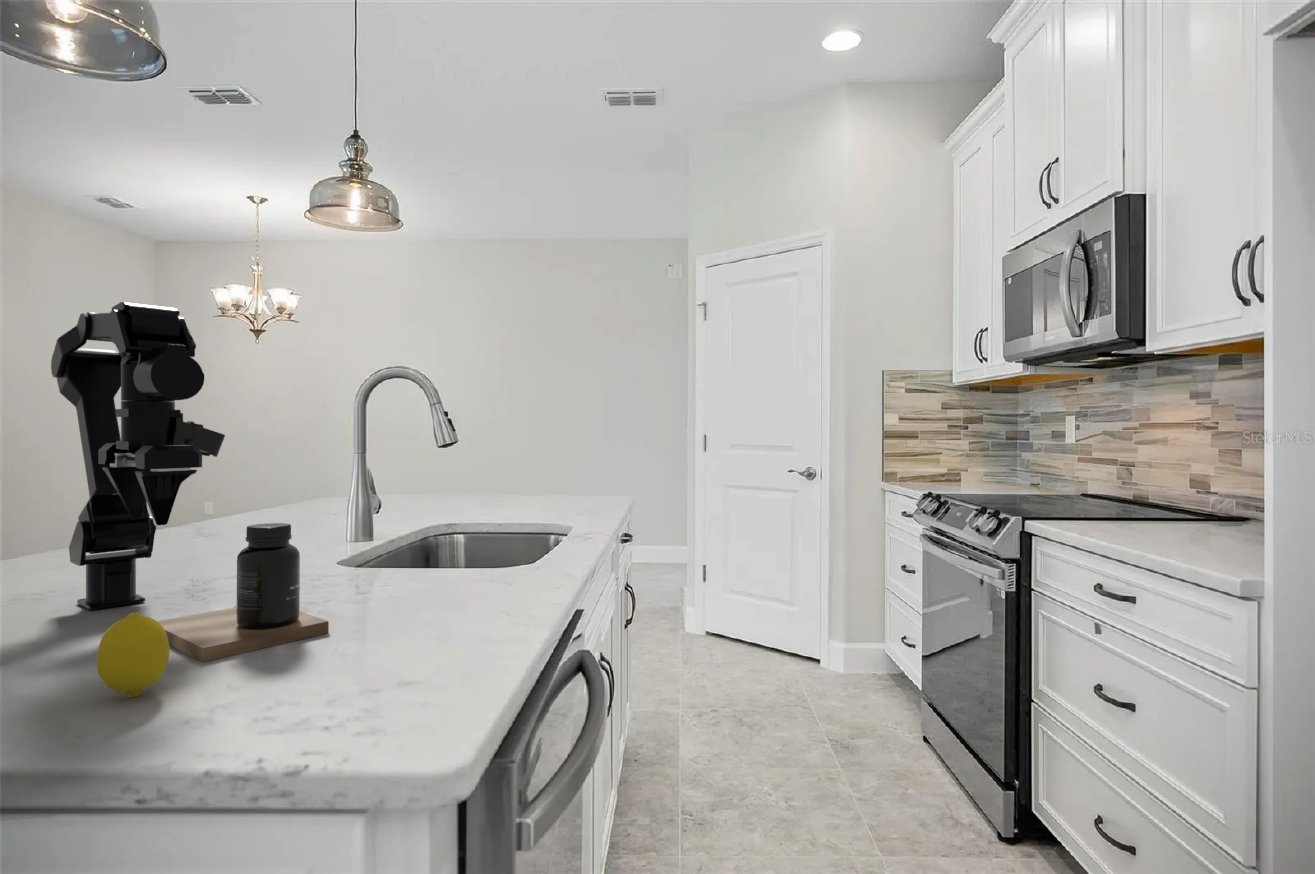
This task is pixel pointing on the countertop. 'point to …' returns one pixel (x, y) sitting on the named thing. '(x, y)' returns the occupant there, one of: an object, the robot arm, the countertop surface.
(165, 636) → the lemon
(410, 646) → the countertop surface
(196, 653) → the walnut board
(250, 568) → the supplement bottle
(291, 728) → the countertop surface
